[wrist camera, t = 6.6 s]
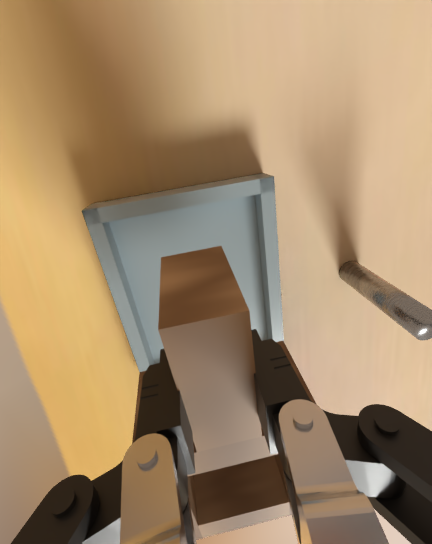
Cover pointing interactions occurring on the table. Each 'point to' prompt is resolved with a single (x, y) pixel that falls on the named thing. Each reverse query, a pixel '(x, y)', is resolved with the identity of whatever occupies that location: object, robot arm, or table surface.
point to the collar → (218, 394)
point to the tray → (188, 250)
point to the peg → (389, 300)
